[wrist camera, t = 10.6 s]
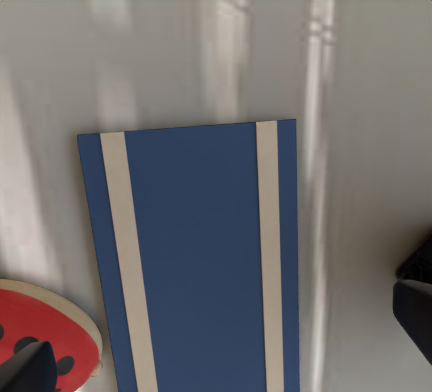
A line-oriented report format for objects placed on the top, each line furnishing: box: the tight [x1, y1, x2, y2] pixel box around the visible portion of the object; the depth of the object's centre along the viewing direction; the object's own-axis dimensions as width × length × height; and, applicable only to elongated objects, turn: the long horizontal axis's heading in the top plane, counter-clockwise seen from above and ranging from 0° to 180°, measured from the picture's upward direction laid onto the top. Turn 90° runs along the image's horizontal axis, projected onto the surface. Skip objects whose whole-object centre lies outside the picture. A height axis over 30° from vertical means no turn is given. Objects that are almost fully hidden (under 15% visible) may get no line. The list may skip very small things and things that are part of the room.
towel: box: [77, 119, 300, 392], centre depth 20 cm, size 22×12×1 cm, turn 4°
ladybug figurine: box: [0, 279, 103, 392], centre depth 17 cm, size 7×10×4 cm
